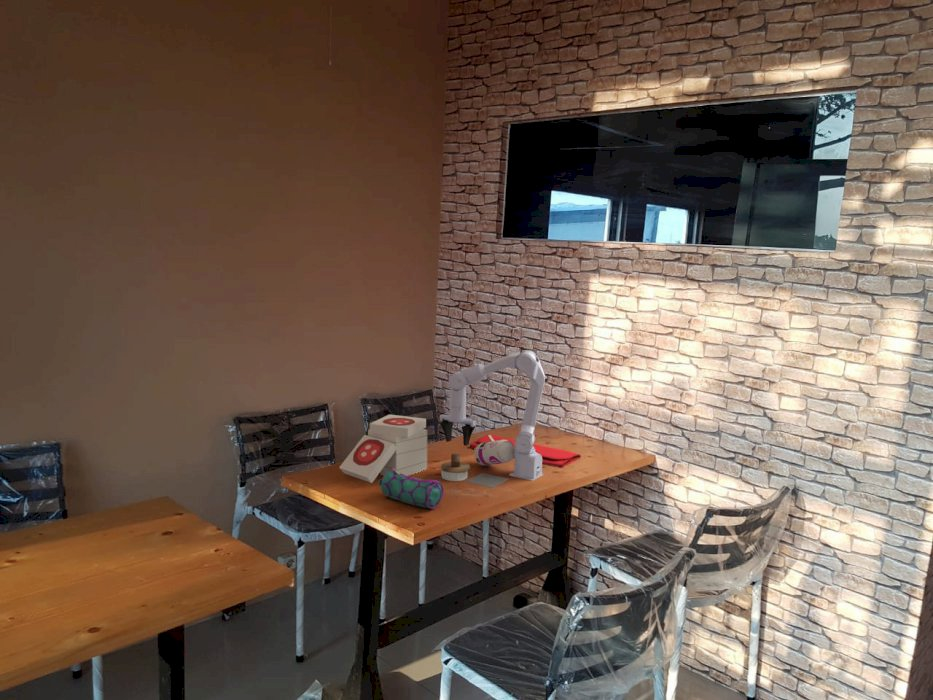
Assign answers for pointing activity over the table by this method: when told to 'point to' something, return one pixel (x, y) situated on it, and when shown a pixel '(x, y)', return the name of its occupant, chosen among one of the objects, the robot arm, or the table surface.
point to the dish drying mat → (538, 451)
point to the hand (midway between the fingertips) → (457, 443)
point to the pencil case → (411, 489)
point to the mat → (487, 480)
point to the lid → (455, 465)
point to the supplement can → (494, 452)
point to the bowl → (454, 476)
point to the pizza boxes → (389, 448)
